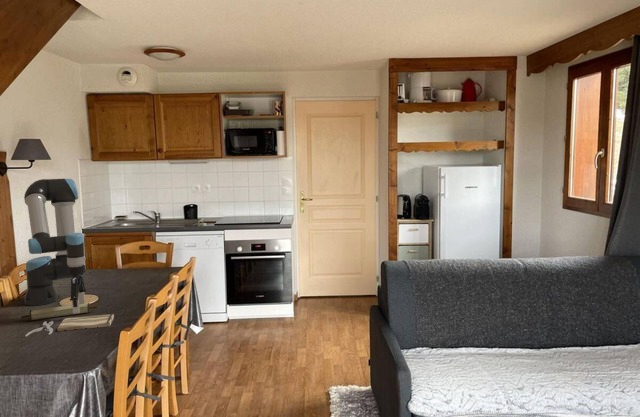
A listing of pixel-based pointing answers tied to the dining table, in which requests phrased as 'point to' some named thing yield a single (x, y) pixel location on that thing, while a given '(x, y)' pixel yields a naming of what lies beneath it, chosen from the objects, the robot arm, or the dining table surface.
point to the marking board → (86, 322)
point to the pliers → (45, 325)
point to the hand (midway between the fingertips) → (79, 309)
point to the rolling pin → (57, 311)
